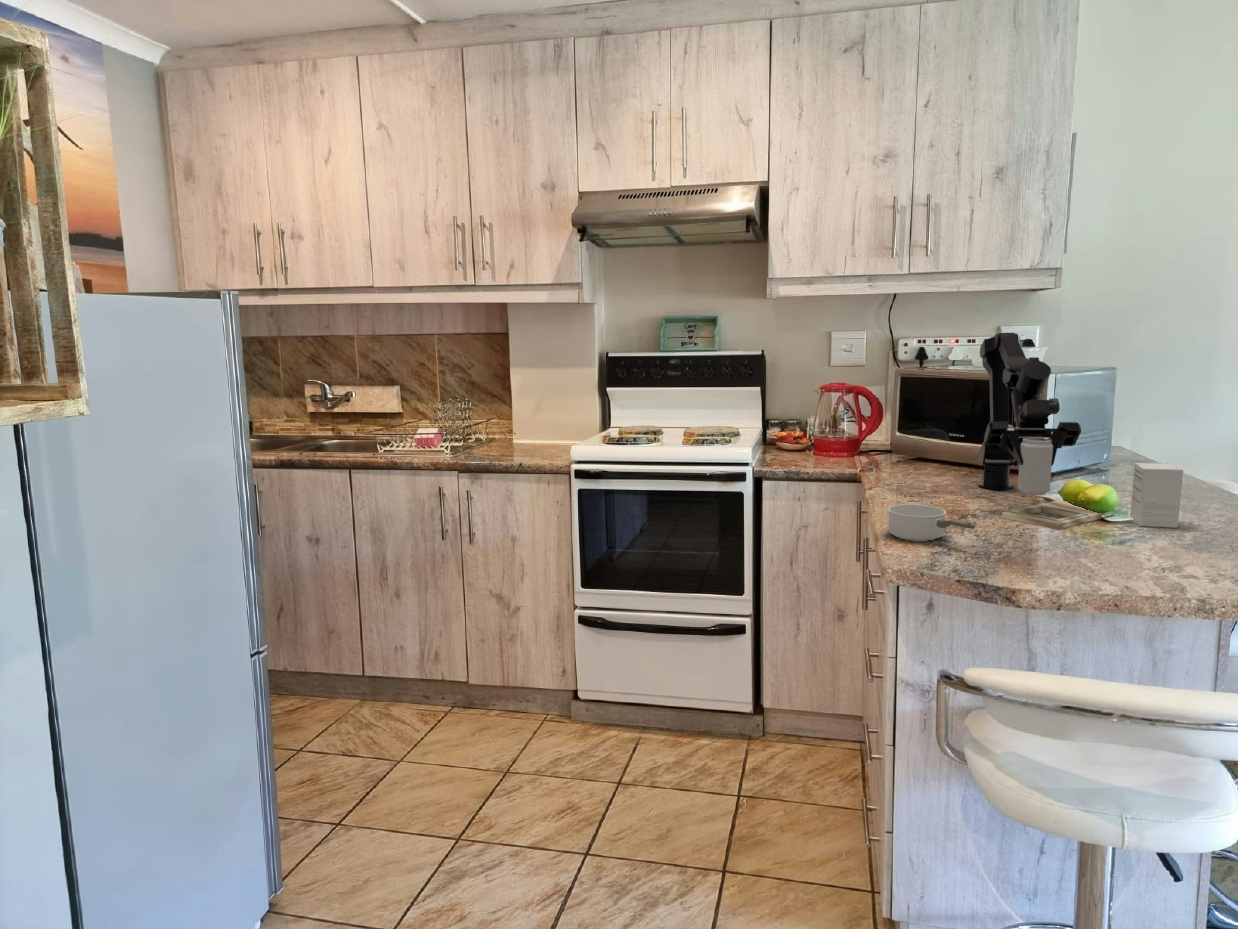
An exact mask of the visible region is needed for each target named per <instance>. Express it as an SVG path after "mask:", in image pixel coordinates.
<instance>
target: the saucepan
mask: <svg viewBox="0 0 1238 929" xmlns="http://www.w3.org/2000/svg"><path fill="white" fill-rule="evenodd" d="M887 511H888V533H889V534H891V535H893V536H894V537H895V536H896V538H897V537H899V538H898V539H900V538H902V539H901V540H903V539H906V540H905V541H909V540H911V541H910V542H928V541H927V540H932V541H934V540H933V539H936V538H937V539H938V538H941V537H943V536H944V535H945V530H944V529H945V528H947V527H950V526H954V527H959V528H965V529H971V530H975V528H976V524H973V523H968V522H964V521H959V520H955V519H945V515H946V514H947V510H945V509H943V508H941V507H938V506H932V505H927V504H917V503H916V504H913V503H912V504H911V503H908V504H906V503H905V504H893V505H891V506H888V507H887ZM937 539H936V540H937ZM912 540H913V541H912Z"/></svg>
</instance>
